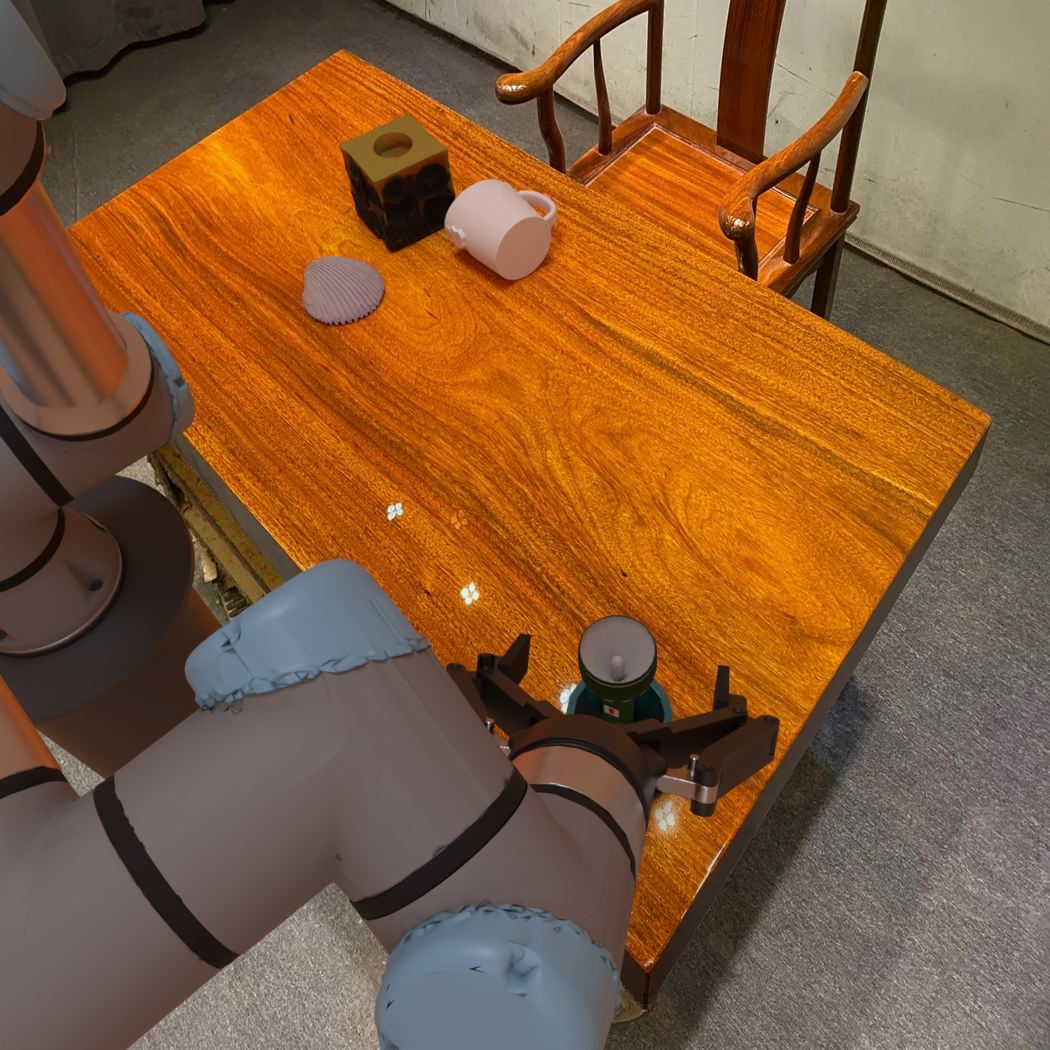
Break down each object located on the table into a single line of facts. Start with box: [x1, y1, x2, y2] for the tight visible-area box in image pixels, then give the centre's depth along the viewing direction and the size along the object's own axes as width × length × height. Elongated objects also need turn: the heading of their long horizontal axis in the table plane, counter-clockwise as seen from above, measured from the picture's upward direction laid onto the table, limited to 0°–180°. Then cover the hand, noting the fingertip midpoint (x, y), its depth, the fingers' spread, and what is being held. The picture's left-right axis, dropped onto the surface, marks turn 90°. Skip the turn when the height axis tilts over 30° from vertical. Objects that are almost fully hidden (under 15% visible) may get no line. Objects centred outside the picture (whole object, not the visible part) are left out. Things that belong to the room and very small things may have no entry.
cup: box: [565, 678, 674, 742], centre depth 72 cm, size 8×8×10 cm
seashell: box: [301, 256, 386, 326], centre depth 109 cm, size 10×6×10 cm
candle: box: [338, 113, 457, 253], centre depth 114 cm, size 10×10×10 cm
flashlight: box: [577, 614, 658, 725], centre depth 67 cm, size 5×5×20 cm
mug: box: [444, 178, 558, 281], centre depth 109 cm, size 12×9×8 cm
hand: (620, 667), depth 64 cm, fingers open, 13 cm apart
